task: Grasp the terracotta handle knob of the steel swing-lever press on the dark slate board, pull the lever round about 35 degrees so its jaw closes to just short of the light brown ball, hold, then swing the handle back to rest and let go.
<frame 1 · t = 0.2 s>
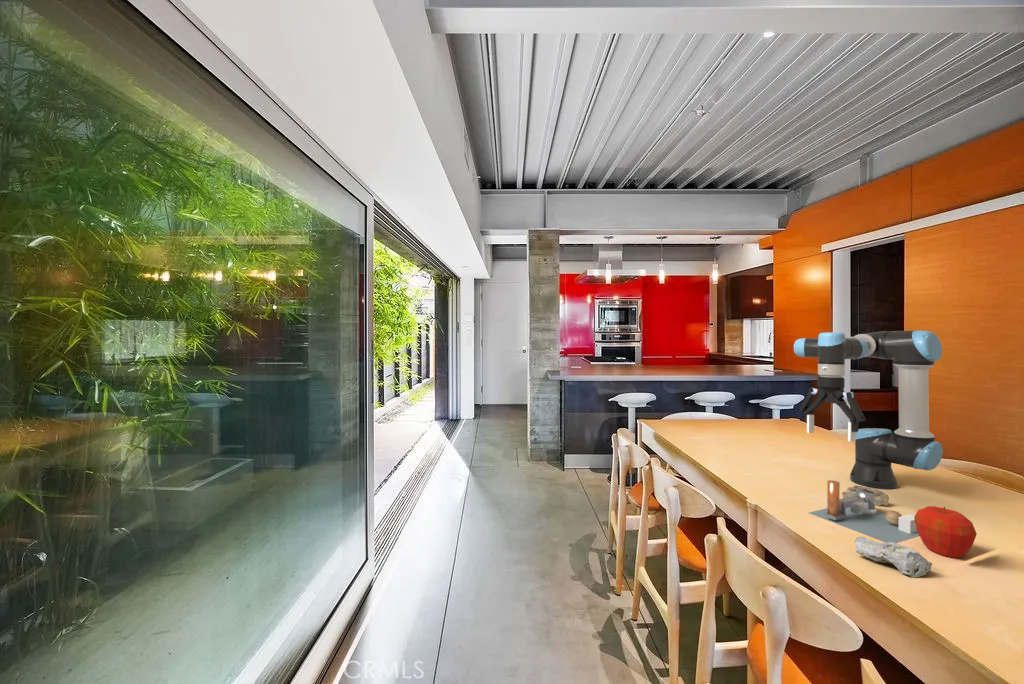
hand: (830, 436, 146), 27 cm above the table, fingers open, 13 cm apart
rock: (864, 505, 155), on the table
lever: (852, 496, 142), point 8 cm above the table, hinge at 0.0°
light brown ball: (894, 524, 136), point 1 cm above the table, touching board
board: (869, 524, 139), on the table
mineral specimen: (893, 567, 113), on the table
apple: (944, 556, 119), on the table
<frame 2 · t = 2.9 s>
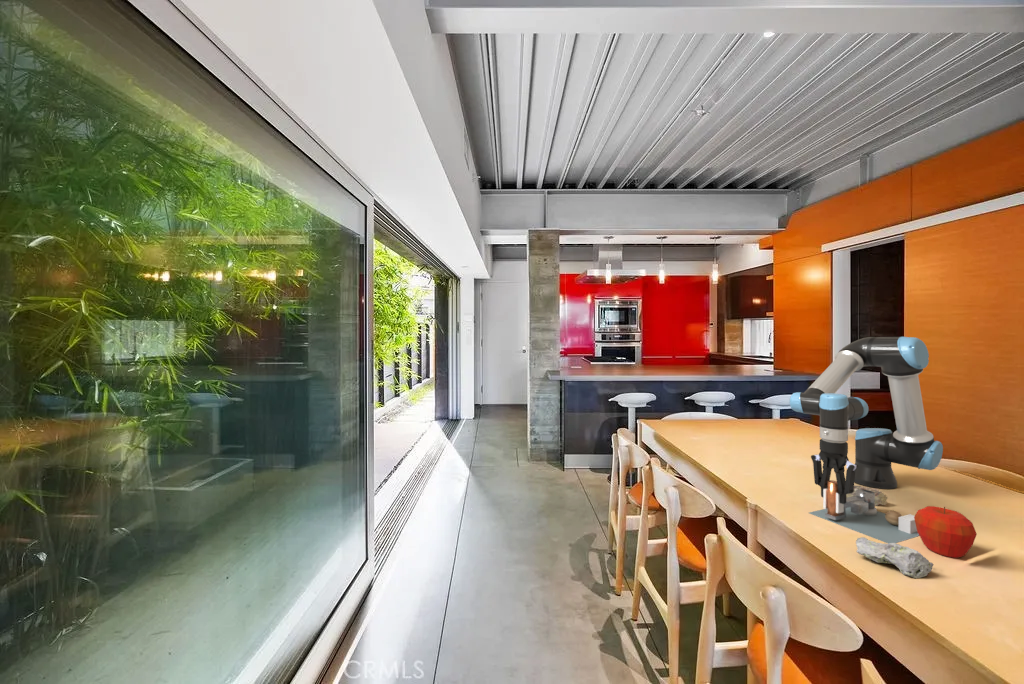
hand: (833, 509, 140), 5 cm above the table, fingers closed on lever, 3 cm apart
lever: (852, 496, 142), point 8 cm above the table, hinge at 0.0°, touching gripper
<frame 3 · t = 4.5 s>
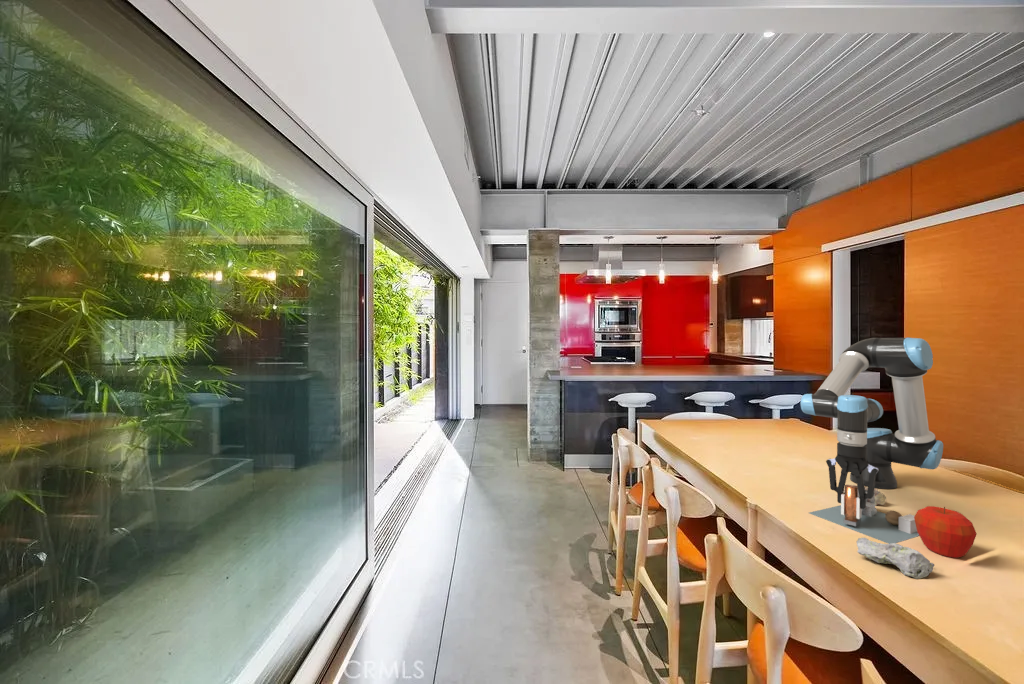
hand: (851, 515, 135), 5 cm above the table, fingers closed on lever, 3 cm apart
lever: (860, 498, 140), point 8 cm above the table, hinge at 16.9°, touching gripper
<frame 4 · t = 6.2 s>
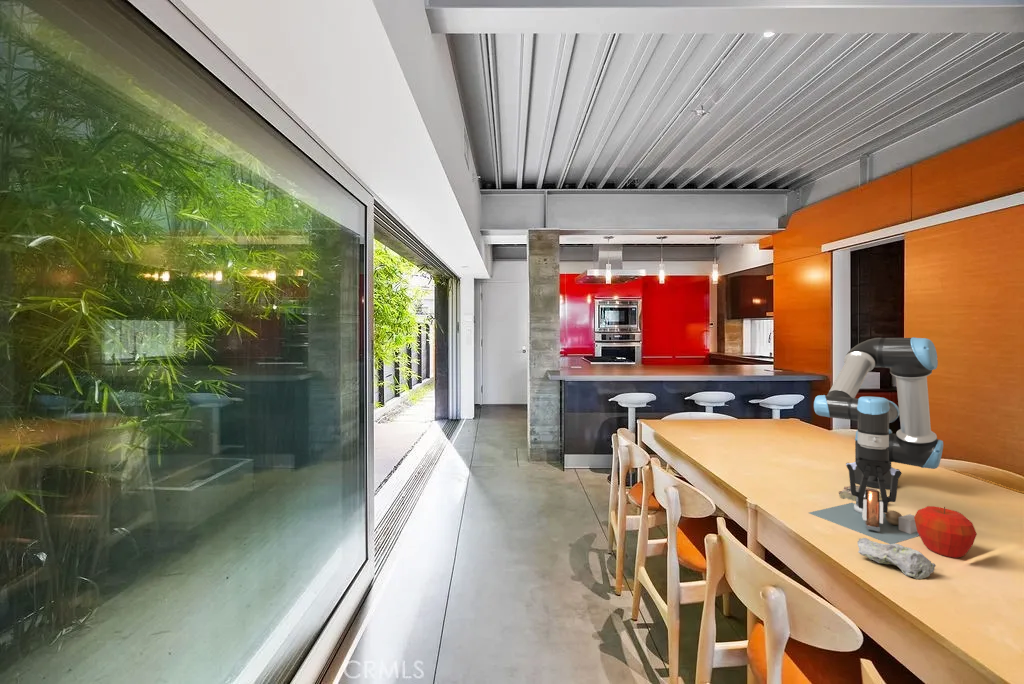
hand: (872, 520, 132), 5 cm above the table, fingers closed on lever, 3 cm apart
lever: (870, 500, 139), point 8 cm above the table, hinge at 34.5°, touching gripper
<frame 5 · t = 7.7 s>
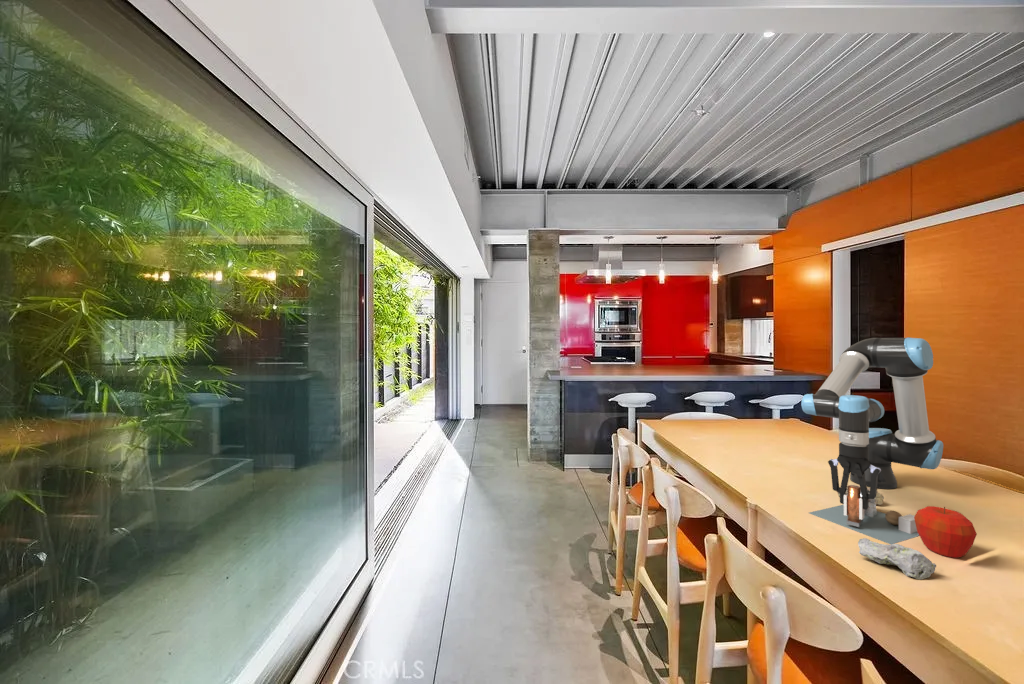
hand: (853, 516, 135), 5 cm above the table, fingers closed on lever, 3 cm apart
lever: (862, 499, 140), point 8 cm above the table, hinge at 19.2°, touching gripper
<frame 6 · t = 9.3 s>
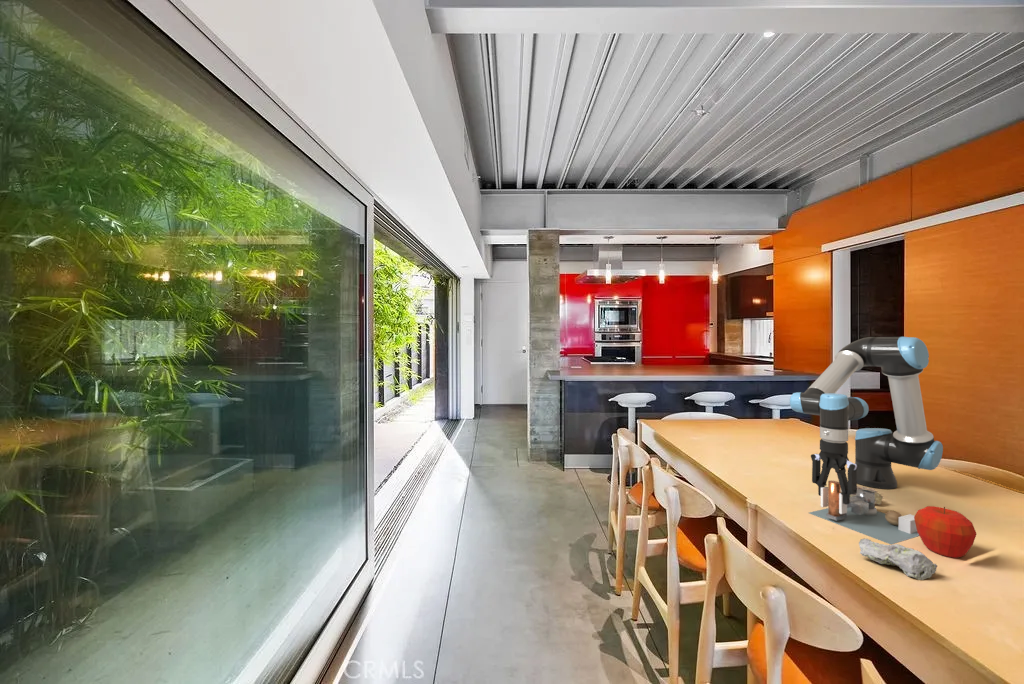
hand: (833, 509, 140), 5 cm above the table, fingers open, 5 cm apart
lever: (852, 496, 142), point 8 cm above the table, hinge at 1.0°
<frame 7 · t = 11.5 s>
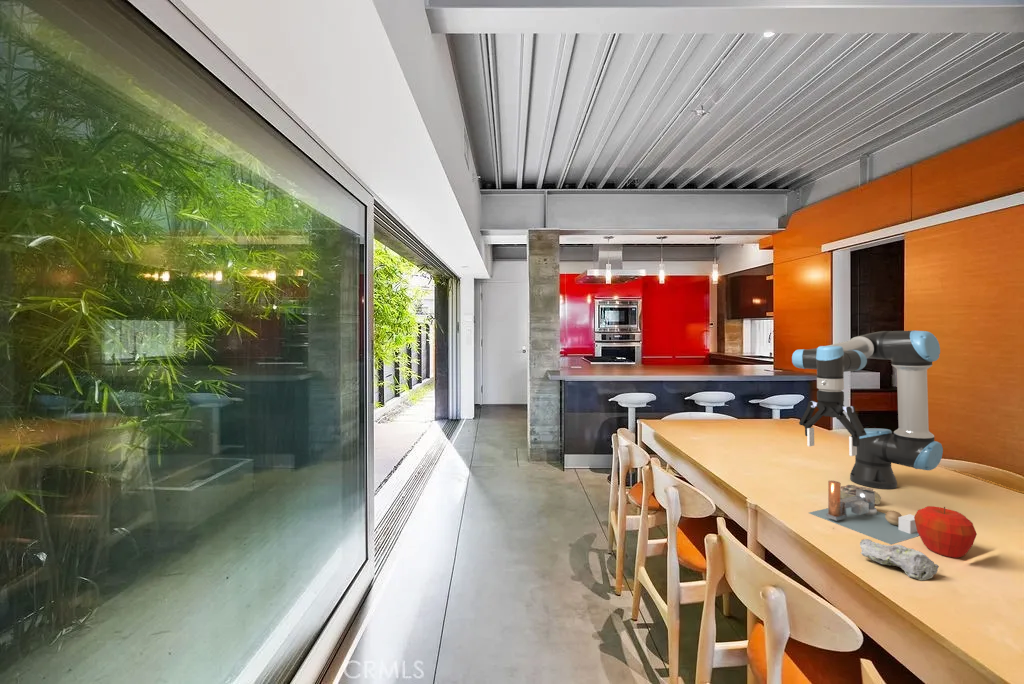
hand: (831, 450, 146), 23 cm above the table, fingers open, 13 cm apart
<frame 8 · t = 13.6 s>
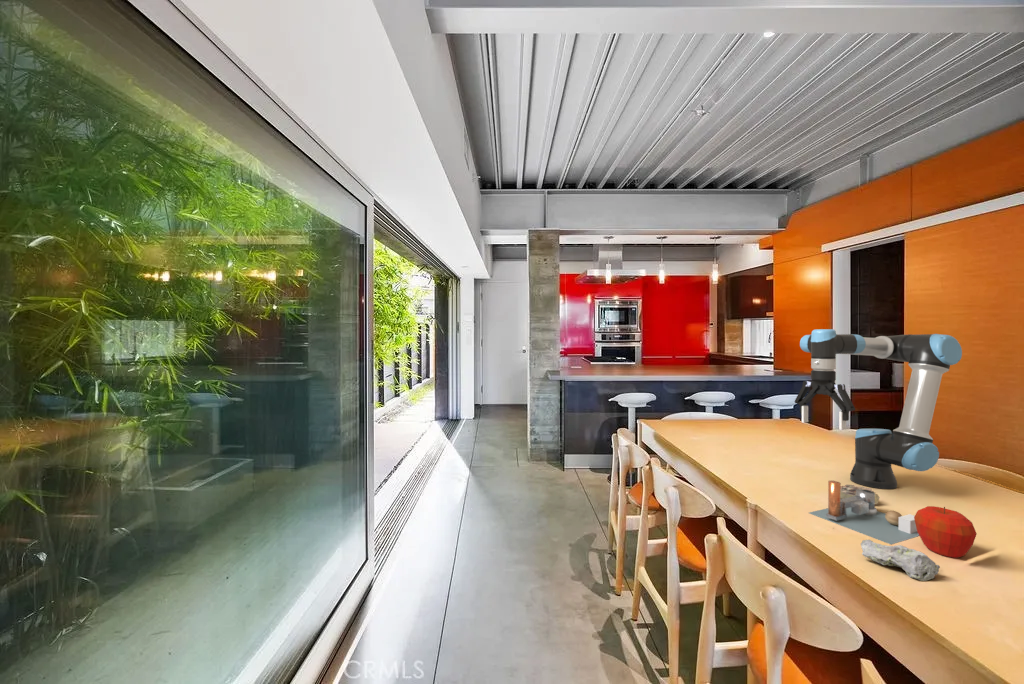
hand: (823, 425, 159), 29 cm above the table, fingers open, 13 cm apart
at the end: lever at +1° (first picture: +0°); light brown ball moved 0.0 cm from its start; the gripper is holding nothing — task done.
